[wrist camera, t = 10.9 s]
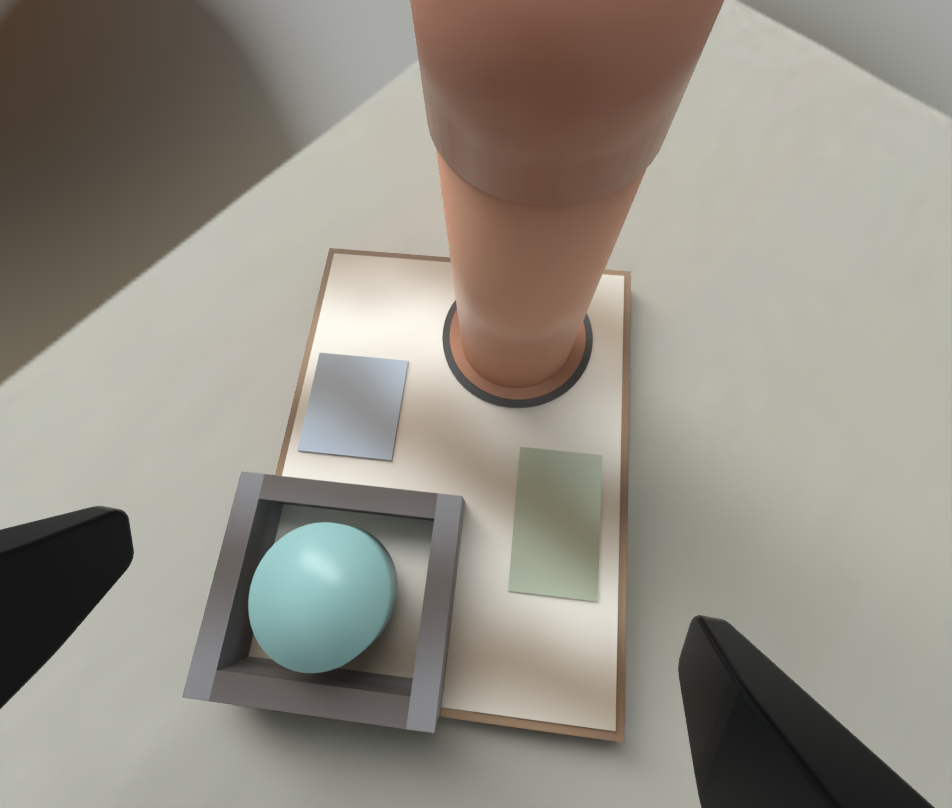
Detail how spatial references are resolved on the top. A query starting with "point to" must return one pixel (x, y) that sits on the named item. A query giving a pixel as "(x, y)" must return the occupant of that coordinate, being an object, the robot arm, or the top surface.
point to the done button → (322, 596)
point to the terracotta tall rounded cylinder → (545, 154)
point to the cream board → (445, 515)
